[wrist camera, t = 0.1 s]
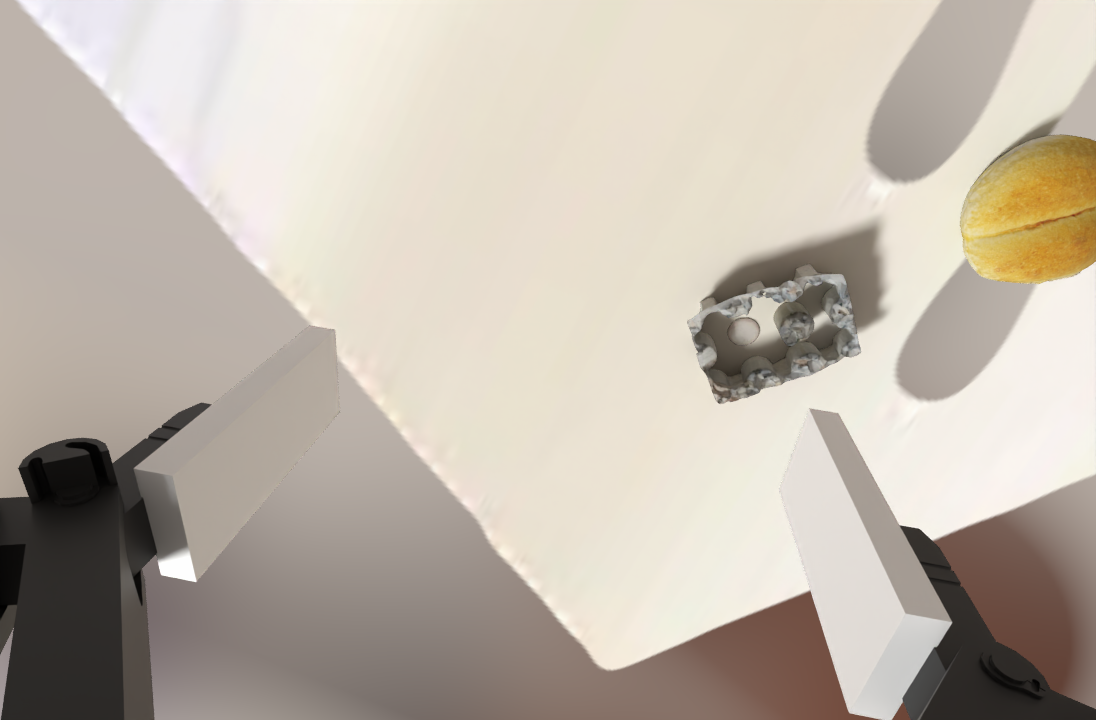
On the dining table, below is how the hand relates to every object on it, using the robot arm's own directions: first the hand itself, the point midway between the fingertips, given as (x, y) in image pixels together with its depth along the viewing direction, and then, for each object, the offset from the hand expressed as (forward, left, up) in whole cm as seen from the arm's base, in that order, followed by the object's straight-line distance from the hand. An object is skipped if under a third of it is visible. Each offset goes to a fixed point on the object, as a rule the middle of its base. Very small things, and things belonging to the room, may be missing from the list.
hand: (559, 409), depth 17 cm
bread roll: (-3, +27, -28) cm, 39 cm away
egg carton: (+7, +13, -28) cm, 32 cm away
